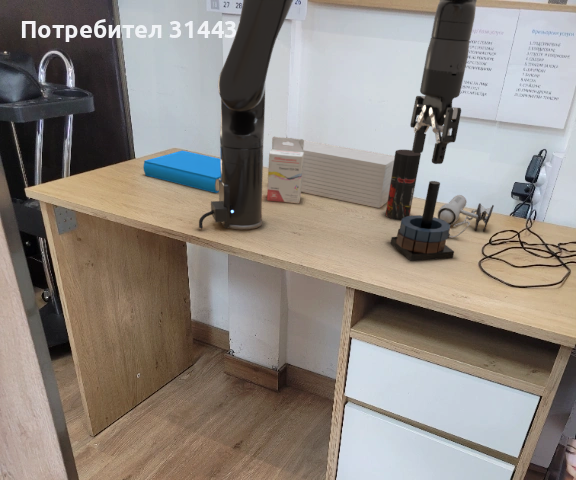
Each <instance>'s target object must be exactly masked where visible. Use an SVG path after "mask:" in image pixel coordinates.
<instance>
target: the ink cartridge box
mask: <svg viewBox="0 0 576 480" xmlns="http://www.w3.org/2000/svg"><path fill="white" fill-rule="evenodd" d="M304 140H305V139H303V138H294V137H285V136H284V137H283V136H272V138H271V149H270V151H269V153H268V166H267V167H268V168H267V169H268V170H267V171H268V172H267V191H266V193H267V194H266V200H267V201H268V202H269V201H270V202H281V203H288V204H289V203H290V204H291V203H292V204H300V200H301V195H302V192H301V185H302V171H303V158H304V152H303V147H304ZM287 141H288V142H290V143H293V144H294V145H293V146H290V145H283V144H282V143H283V142H287Z"/></svg>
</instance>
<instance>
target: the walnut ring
mask: <svg viewBox="0 0 576 480" xmlns="http://www.w3.org/2000/svg"><path fill="white" fill-rule="evenodd" d="M399 230H400V228H398V229H397V233H396V234H397V235H396V237H397V240H396V243H397V244H398V245H399V246H400V247H403V248H404V249H407V250H410V251H414V252H419V253H425V252H426V253H437V252H439V251H441V250H443V249H444V247H445V245H446V242H447V239H446V240H444V241H441V242H440V241H439V242H428V241H427V242H422V241H416V240H413V239H410V238H407V237H405V236H403V235H402V234H401V233H400V231H399Z"/></svg>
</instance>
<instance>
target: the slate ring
mask: <svg viewBox="0 0 576 480" xmlns="http://www.w3.org/2000/svg"><path fill="white" fill-rule="evenodd" d="M422 216H423V214H422V215H420V214H419V215H417V214H416V215H415V214H413V215H410V216H407V217H404V218H402V220H400V226H399V229H400V230H399V231H400V233H401V234H402V235H403V236H405V237H407V238H410V239H413V240H416V241H422V242H427V241H428V242H439V241H440V242H441V241H444V240H446V241H447V240H448V238H449V237H448V234H450V229H451V225H450V224H448V223H447V222H446V221H444V220H441V219H438V217H434V216H433V220H432V225H431V229H425V228H420V226H421V221H422Z"/></svg>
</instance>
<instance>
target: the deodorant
mask: <svg viewBox="0 0 576 480" xmlns="http://www.w3.org/2000/svg"><path fill="white" fill-rule="evenodd" d="M394 156H395V158H394V164H393V170H392V177H391V183H390V189H389V196H388V202H387V203H386V209H385V216H386V217H387V218H389V219H392V220H398V221H402V218H404V217H407V216H411V210H412V206H413V200H414V194H415V189H416V183H417V178H418V173H419V172H418V171H419V168H420V167H419V166H420V162H421V156H422V153H414V152H413V151H412V149H397V150H395V152H394Z"/></svg>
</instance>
